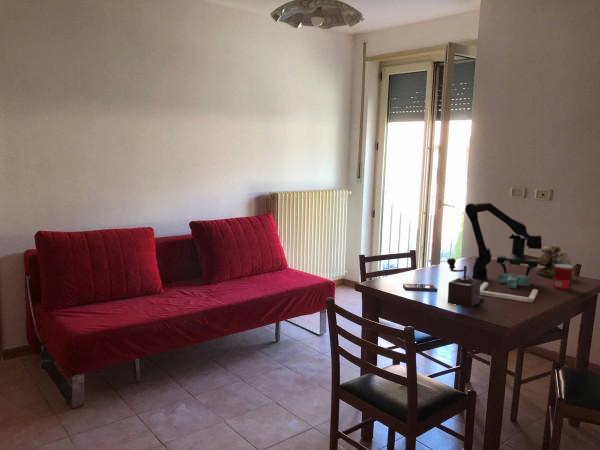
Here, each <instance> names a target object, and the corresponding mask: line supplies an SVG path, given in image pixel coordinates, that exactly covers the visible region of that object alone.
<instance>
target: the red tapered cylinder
mask: <svg viewBox="0 0 600 450" xmlns="http://www.w3.org/2000/svg"><path fill="white" fill-rule="evenodd" d="M573 273H574V266H573V265H571V264H570V265H566V264H555V266H554V277H553V279H552V286H553V287H552V288H554V289H557V290H563V291H567V290H571V289H572V284H573Z"/></svg>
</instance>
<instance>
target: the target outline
mask: <svg viewBox="0 0 600 450" xmlns="http://www.w3.org/2000/svg"><path fill="white" fill-rule="evenodd" d="M488 286H489V282H488V281H487V282H486V281H484V282H483V283H482V284H480V296H487V297H493V298H500V299H506V300H513V301H518V302H519V301H520V302H527V303H531V304H532V303H534V301H535V299H536V297H537V296H538V293H539V290H538V289H536V288H533V289H532V290H531V292H530V293H529V296H528V297H526V296H521V295H515V294H509V293H501V292H493V291H487V290H486V289H487V287H488Z"/></svg>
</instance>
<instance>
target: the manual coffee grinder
mask: <svg viewBox="0 0 600 450" xmlns="http://www.w3.org/2000/svg"><path fill="white" fill-rule="evenodd" d="M456 262H457V261H456V259H455V258H453V257H451V258H450V257H449V258H447V261H446V263H447V264H448V267H449V270H450V272H454V273H455V272H456V273H458V272H459V273H462V272H463V276H461V277H458V278H457V277H456V279H453V280H451V281H449V282H448V288H447V289H448V291H447V304H450V303H451V305H454V304H456V305H455V306H458V305H461V306H460V307H463V306H465V307H464V308H468V307H471V308H473V307H475V306H476V304H477V305H479V304H480V296H481V295H480V286H481V282H480V281H478V280H474V279H472V278H471V277H470V275H467V271H468V269H467V268H468V267H467V265H464V266H463V269H456V266H455V265H456V264H455V263H456ZM474 305H475V306H474ZM472 306H473V307H472Z"/></svg>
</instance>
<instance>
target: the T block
mask: <svg viewBox="0 0 600 450" xmlns="http://www.w3.org/2000/svg"><path fill="white" fill-rule="evenodd" d="M498 283H503V284H506V286H505V287H506V288H510V289H516V288H517V287H518V286H524V287H529V286H530V284H531V276H529V275H528V276H526V275H522V274H514V273H508V272H507V273H505V272H500V273H498Z"/></svg>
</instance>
